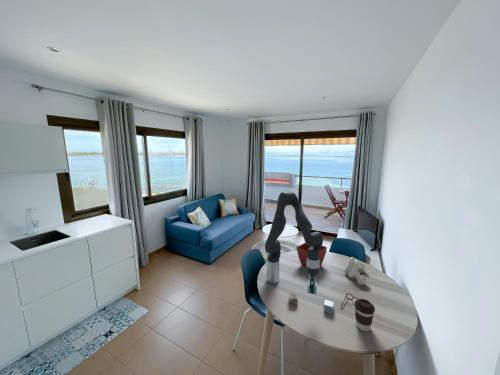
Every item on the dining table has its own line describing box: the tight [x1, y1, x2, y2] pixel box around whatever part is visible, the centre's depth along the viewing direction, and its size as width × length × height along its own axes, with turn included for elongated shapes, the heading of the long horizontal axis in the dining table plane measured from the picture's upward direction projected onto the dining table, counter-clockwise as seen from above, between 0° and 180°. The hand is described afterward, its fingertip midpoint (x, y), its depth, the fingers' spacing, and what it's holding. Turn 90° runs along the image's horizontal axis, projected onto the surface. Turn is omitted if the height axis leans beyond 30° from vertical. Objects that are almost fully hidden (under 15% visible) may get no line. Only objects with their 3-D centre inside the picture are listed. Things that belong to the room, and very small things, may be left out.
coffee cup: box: [354, 298, 376, 332], centre depth 114 cm, size 10×10×15 cm
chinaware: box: [344, 256, 369, 286], centre depth 160 cm, size 28×17×17 cm, turn 159°
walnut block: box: [288, 292, 299, 307], centre depth 135 cm, size 5×5×5 cm
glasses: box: [340, 293, 360, 310], centre depth 129 cm, size 13×13×5 cm
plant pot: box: [296, 241, 328, 268], centre depth 178 cm, size 19×19×17 cm
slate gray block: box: [323, 299, 335, 315], centre depth 128 cm, size 5×5×5 cm
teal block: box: [307, 279, 318, 295], centre depth 124 cm, size 5×5×5 cm
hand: (312, 290), depth 124 cm, fingers closed on teal block, 5 cm apart
